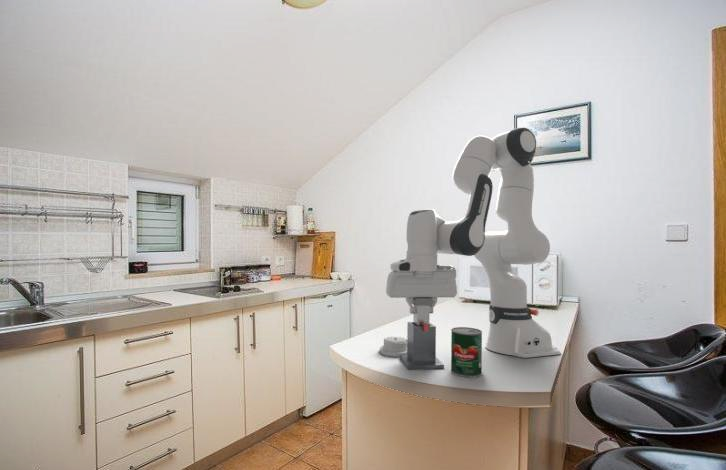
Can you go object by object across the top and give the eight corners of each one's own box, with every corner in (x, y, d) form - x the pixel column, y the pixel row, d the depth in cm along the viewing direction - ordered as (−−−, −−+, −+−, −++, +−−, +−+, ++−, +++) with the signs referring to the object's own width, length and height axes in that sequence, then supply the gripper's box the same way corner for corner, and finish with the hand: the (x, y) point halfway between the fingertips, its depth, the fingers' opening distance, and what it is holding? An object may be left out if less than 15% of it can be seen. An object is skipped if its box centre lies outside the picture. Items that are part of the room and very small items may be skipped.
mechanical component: (412, 358, 104) (410, 349, 114) (412, 343, 105) (411, 335, 114) (378, 357, 105) (380, 348, 115) (379, 342, 106) (380, 334, 115)
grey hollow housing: (432, 357, 105) (432, 317, 106) (444, 368, 95) (444, 324, 96) (399, 358, 104) (400, 317, 104) (408, 369, 94) (408, 324, 94)
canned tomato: (455, 377, 89) (455, 333, 89) (447, 366, 97) (447, 326, 97) (486, 377, 89) (486, 334, 90) (476, 367, 97) (476, 327, 97)
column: (426, 354, 102) (427, 296, 103) (432, 359, 98) (432, 298, 98) (410, 354, 102) (410, 296, 103) (414, 360, 97) (415, 298, 98)
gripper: (452, 264, 105) (451, 310, 105) (385, 264, 103) (384, 311, 102) (460, 265, 99) (460, 314, 98) (389, 265, 96) (389, 315, 96)
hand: (421, 313), depth 100 cm, fingers open, 4 cm apart
